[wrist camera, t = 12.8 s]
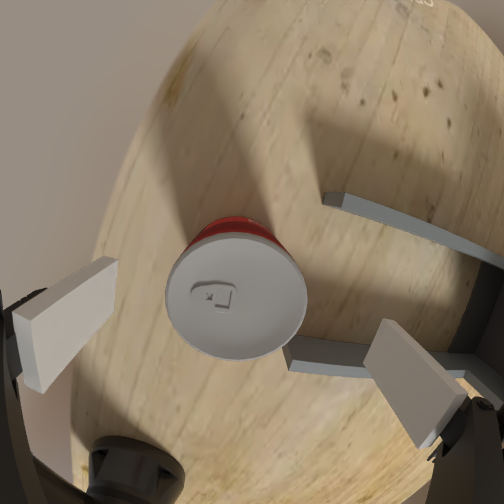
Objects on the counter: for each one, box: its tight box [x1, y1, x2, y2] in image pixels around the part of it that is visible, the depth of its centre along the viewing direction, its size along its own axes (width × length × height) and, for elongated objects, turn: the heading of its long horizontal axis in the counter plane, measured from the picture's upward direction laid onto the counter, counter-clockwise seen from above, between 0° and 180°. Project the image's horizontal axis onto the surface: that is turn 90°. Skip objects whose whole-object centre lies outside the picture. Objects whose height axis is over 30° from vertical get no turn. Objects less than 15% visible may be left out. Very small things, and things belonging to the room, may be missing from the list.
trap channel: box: [282, 192, 504, 410], centre depth 21 cm, size 32×15×14 cm, turn 75°
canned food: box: [165, 216, 308, 361], centre depth 21 cm, size 8×8×11 cm
